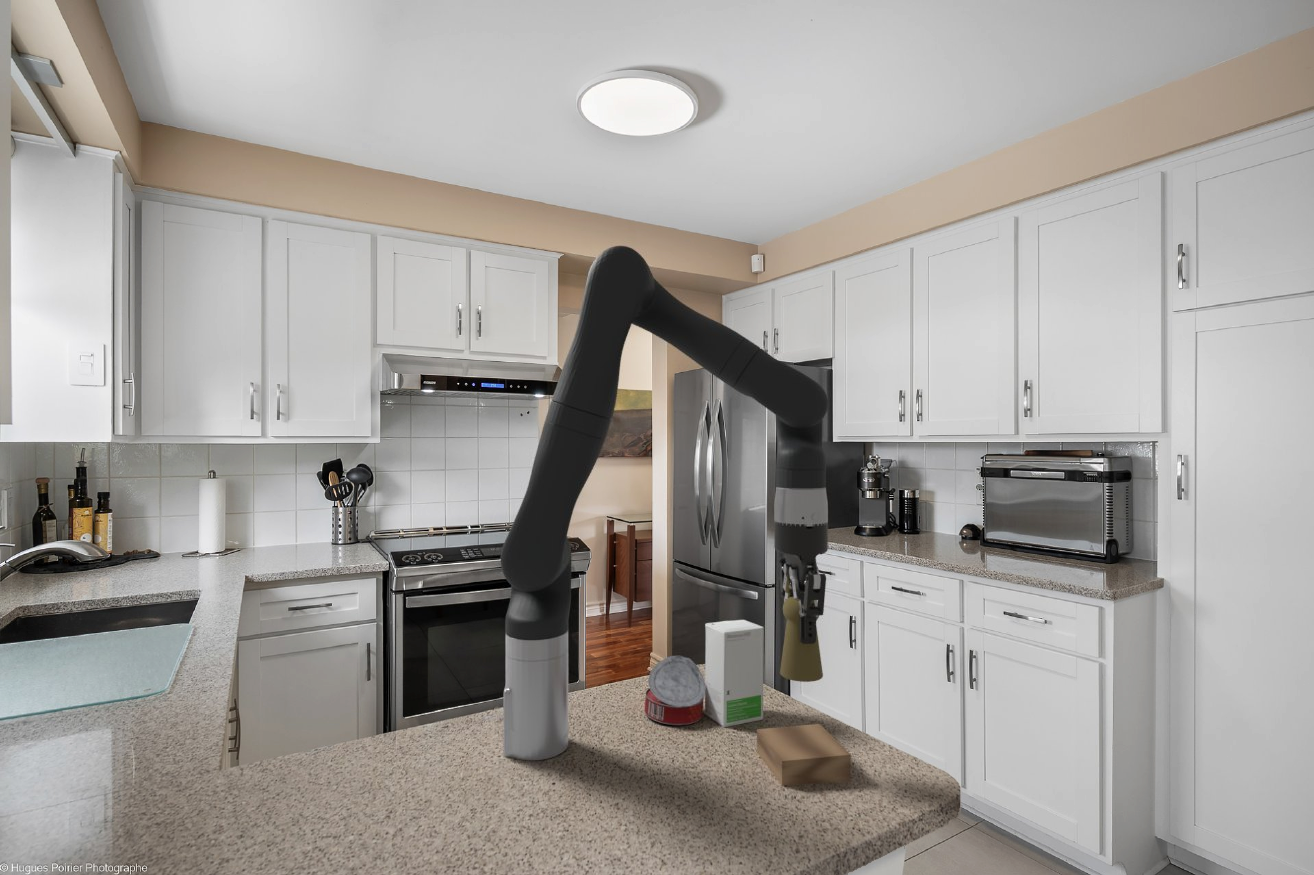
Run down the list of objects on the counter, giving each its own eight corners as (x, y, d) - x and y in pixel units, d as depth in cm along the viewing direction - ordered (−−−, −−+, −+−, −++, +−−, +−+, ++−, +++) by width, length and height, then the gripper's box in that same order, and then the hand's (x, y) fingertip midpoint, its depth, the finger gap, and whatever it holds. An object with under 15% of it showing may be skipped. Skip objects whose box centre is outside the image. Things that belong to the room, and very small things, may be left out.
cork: (824, 683, 92) (823, 603, 92) (779, 680, 94) (779, 601, 94) (822, 668, 98) (822, 593, 98) (780, 665, 99) (780, 592, 99)
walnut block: (781, 790, 90) (781, 761, 90) (756, 756, 100) (756, 729, 100) (850, 783, 92) (850, 754, 92) (819, 750, 102) (819, 724, 102)
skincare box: (723, 729, 108) (723, 633, 108) (702, 714, 114) (702, 623, 114) (765, 719, 112) (765, 626, 112) (743, 705, 118) (743, 617, 118)
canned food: (698, 735, 115) (728, 689, 114) (670, 750, 107) (702, 700, 105) (651, 689, 121) (679, 645, 119) (621, 700, 112) (651, 652, 111)
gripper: (761, 513, 103) (762, 624, 103) (791, 525, 88) (791, 654, 88) (809, 512, 103) (809, 622, 103) (845, 524, 89) (845, 652, 89)
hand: (800, 636), depth 96 cm, fingers closed on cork, 5 cm apart
